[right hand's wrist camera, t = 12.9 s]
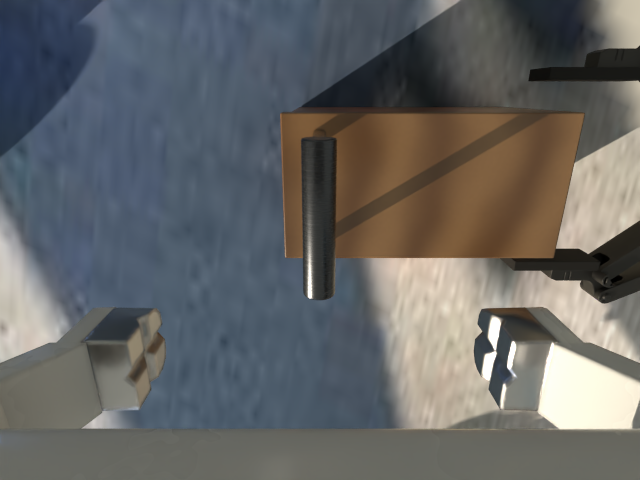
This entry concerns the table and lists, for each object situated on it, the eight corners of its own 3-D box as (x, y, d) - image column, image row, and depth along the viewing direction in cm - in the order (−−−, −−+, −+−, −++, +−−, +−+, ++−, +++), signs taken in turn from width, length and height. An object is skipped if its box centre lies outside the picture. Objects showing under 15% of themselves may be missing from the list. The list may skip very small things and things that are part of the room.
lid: (286, 251, 28) (272, 315, 20) (282, 111, 25) (263, 120, 17) (544, 251, 28) (635, 315, 20) (573, 111, 25) (696, 120, 17)
